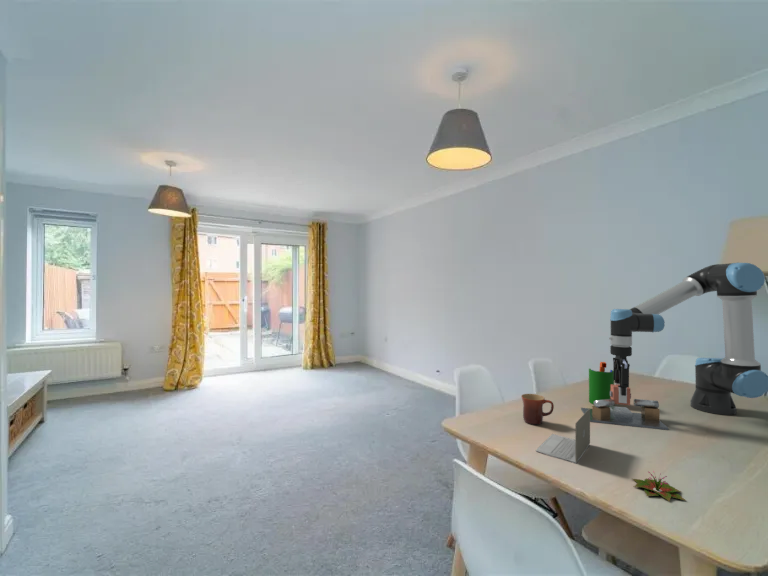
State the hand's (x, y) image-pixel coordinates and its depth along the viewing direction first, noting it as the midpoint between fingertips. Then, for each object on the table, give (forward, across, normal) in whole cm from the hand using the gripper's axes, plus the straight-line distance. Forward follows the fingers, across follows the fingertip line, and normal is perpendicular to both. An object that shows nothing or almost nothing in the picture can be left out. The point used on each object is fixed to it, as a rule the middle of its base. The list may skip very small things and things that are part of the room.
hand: (620, 400), depth 150 cm
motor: (+7, -17, -3) cm, 19 cm away
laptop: (+7, +40, -28) cm, 49 cm away
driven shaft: (+6, +5, -7) cm, 11 cm away
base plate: (+7, +3, 0) cm, 7 cm away
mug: (+7, +18, -34) cm, 39 cm away
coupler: (+1, 0, 0) cm, 1 cm away
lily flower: (+7, +59, -7) cm, 60 cm away
